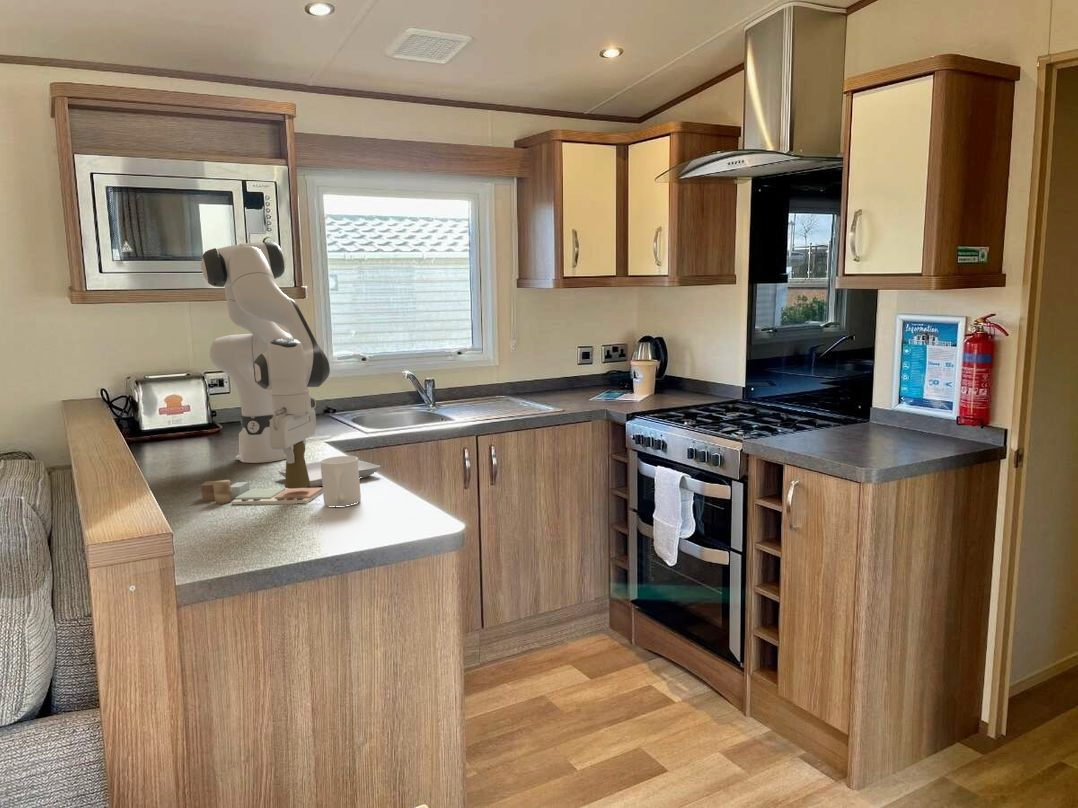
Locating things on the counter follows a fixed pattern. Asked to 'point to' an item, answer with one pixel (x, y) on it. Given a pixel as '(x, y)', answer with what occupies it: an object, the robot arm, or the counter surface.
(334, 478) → the mug
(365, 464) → the salad plate
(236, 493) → the soap box
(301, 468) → the pepper shaker
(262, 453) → the robot arm
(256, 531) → the counter surface
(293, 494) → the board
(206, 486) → the walnut cube
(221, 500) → the cork stopper
